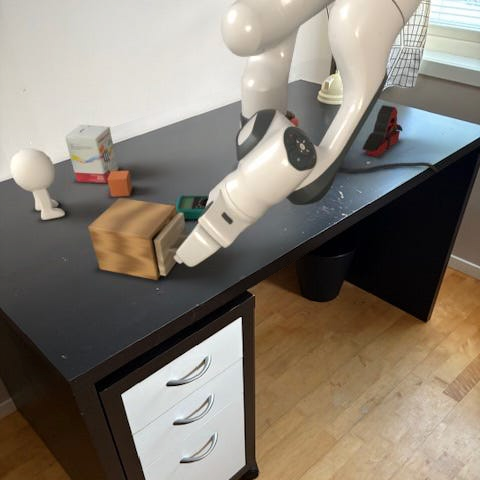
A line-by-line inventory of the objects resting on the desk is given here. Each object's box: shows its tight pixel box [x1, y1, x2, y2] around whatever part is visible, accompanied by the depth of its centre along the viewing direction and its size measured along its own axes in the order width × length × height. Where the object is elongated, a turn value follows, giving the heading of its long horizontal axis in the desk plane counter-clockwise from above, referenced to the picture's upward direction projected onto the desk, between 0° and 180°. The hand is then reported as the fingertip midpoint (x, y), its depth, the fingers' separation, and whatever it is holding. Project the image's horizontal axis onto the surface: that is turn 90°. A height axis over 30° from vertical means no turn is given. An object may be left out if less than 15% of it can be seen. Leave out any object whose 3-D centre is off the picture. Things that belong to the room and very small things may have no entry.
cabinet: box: [88, 197, 177, 281], centre depth 93 cm, size 13×12×10 cm
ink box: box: [64, 124, 119, 184], centre depth 122 cm, size 9×9×12 cm
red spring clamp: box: [361, 104, 404, 158], centre depth 128 cm, size 18×4×11 cm, turn 142°
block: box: [107, 170, 133, 198], centre depth 117 cm, size 4×4×4 cm
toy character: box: [9, 148, 66, 221], centre depth 107 cm, size 9×9×15 cm
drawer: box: [152, 212, 189, 277], centre depth 92 cm, size 16×10×8 cm, turn 71°
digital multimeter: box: [175, 194, 209, 220], centre depth 108 cm, size 7×15×3 cm, turn 88°
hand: (188, 245), depth 90 cm, fingers open, 8 cm apart
